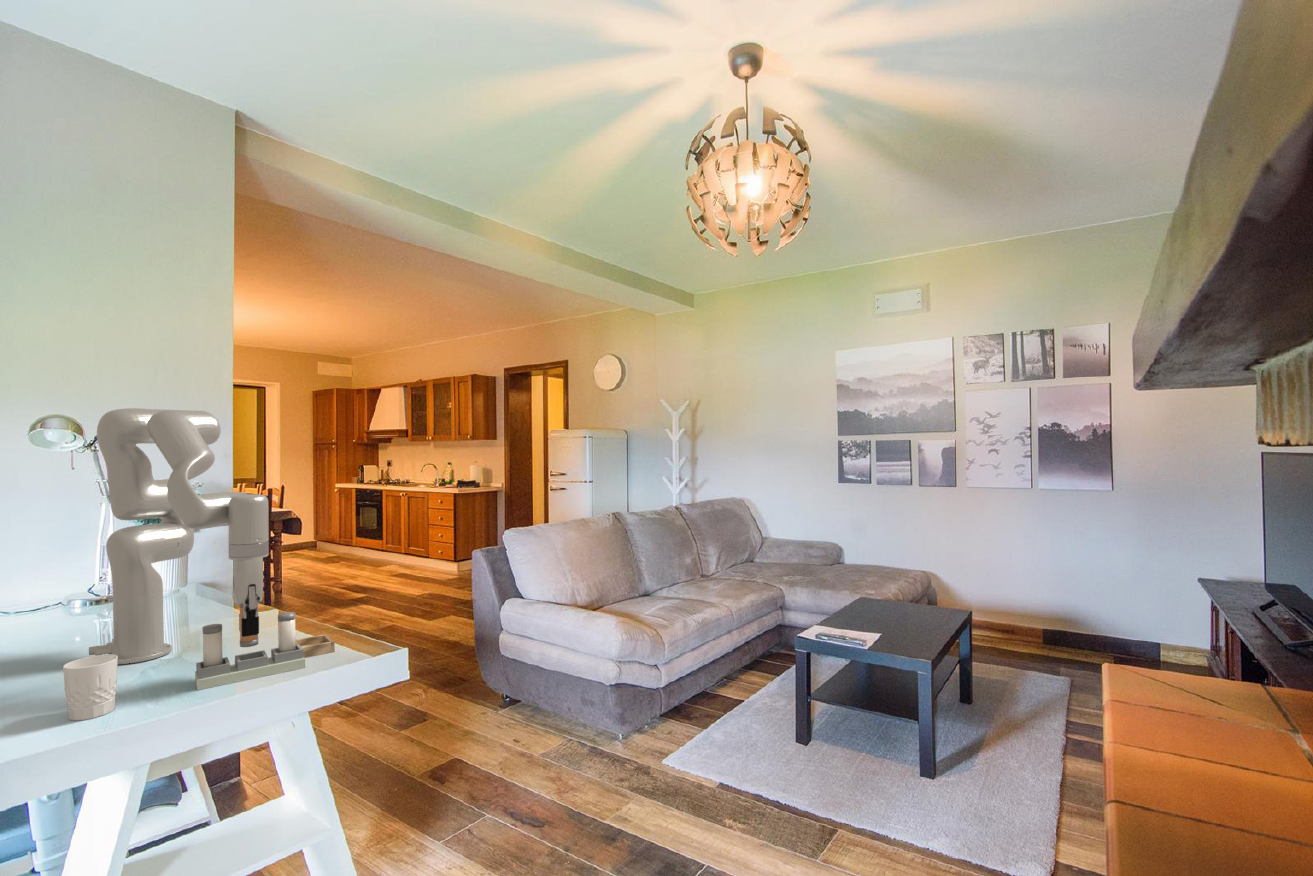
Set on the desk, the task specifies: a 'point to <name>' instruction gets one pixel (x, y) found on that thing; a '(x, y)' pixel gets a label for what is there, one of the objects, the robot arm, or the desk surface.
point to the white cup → (90, 686)
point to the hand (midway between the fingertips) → (249, 632)
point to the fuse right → (286, 632)
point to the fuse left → (212, 645)
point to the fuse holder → (249, 667)
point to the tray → (316, 645)
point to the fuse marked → (247, 640)
